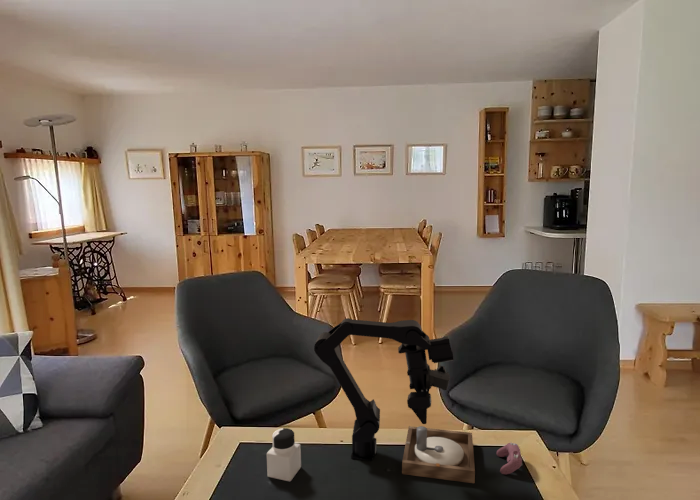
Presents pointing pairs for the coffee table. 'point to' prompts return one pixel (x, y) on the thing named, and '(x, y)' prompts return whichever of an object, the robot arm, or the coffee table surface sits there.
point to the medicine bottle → (283, 455)
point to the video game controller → (510, 458)
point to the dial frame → (454, 473)
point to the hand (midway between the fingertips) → (425, 415)
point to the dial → (437, 449)
